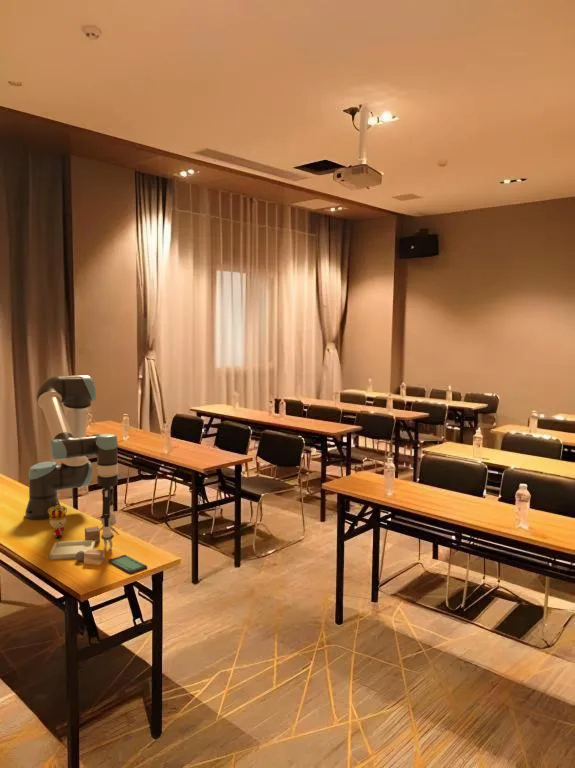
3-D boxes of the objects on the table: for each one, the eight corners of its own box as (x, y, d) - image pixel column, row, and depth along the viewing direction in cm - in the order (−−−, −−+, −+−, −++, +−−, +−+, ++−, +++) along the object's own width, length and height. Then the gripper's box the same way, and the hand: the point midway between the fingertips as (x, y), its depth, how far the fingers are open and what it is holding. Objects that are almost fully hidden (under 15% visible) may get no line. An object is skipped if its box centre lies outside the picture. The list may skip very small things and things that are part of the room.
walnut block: (85, 539, 231) (84, 527, 231) (97, 537, 233) (97, 526, 233) (86, 544, 227) (86, 532, 226) (100, 542, 229) (99, 530, 228)
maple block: (89, 559, 213) (89, 549, 212) (104, 560, 212) (104, 550, 212) (84, 563, 209) (84, 553, 208) (99, 565, 208) (99, 554, 208)
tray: (55, 546, 224) (55, 541, 224) (95, 543, 227) (95, 539, 227) (49, 559, 211) (48, 555, 211) (91, 557, 214) (91, 552, 214)
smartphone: (124, 554, 216) (147, 565, 206) (124, 557, 216) (147, 568, 206) (107, 559, 210) (130, 571, 200) (107, 563, 210) (130, 575, 201)
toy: (60, 541, 229) (60, 505, 227) (44, 539, 230) (43, 503, 228) (71, 535, 236) (70, 499, 234) (55, 533, 237) (54, 498, 235)
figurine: (92, 549, 222) (91, 511, 220) (102, 543, 227) (102, 506, 226) (114, 553, 218) (114, 515, 217) (124, 547, 224) (124, 510, 222)
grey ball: (76, 558, 212) (76, 549, 212) (86, 558, 213) (86, 549, 213) (75, 562, 209) (75, 553, 209) (85, 562, 210) (85, 552, 209)
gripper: (100, 466, 231) (101, 517, 233) (93, 484, 207) (94, 540, 209) (119, 466, 233) (120, 516, 235) (115, 483, 208) (116, 539, 211)
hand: (108, 527), depth 222 cm, fingers open, 13 cm apart
